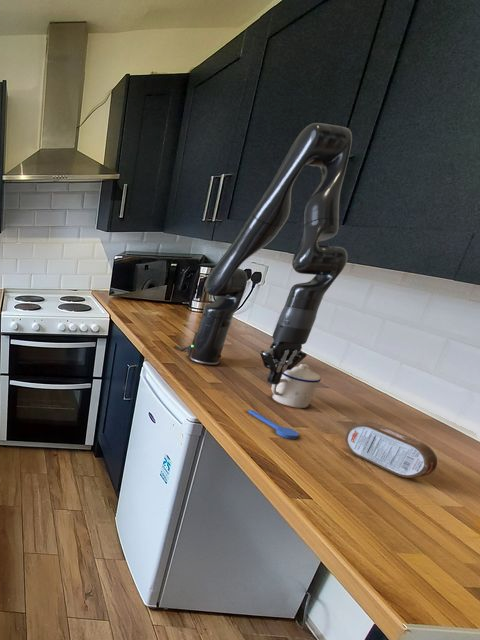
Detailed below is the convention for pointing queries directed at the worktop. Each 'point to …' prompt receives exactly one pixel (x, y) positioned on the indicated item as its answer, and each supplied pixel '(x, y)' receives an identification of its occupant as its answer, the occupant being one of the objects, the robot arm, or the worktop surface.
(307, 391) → the teacup with lid
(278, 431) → the spoon
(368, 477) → the worktop surface
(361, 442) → the tin
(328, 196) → the robot arm
